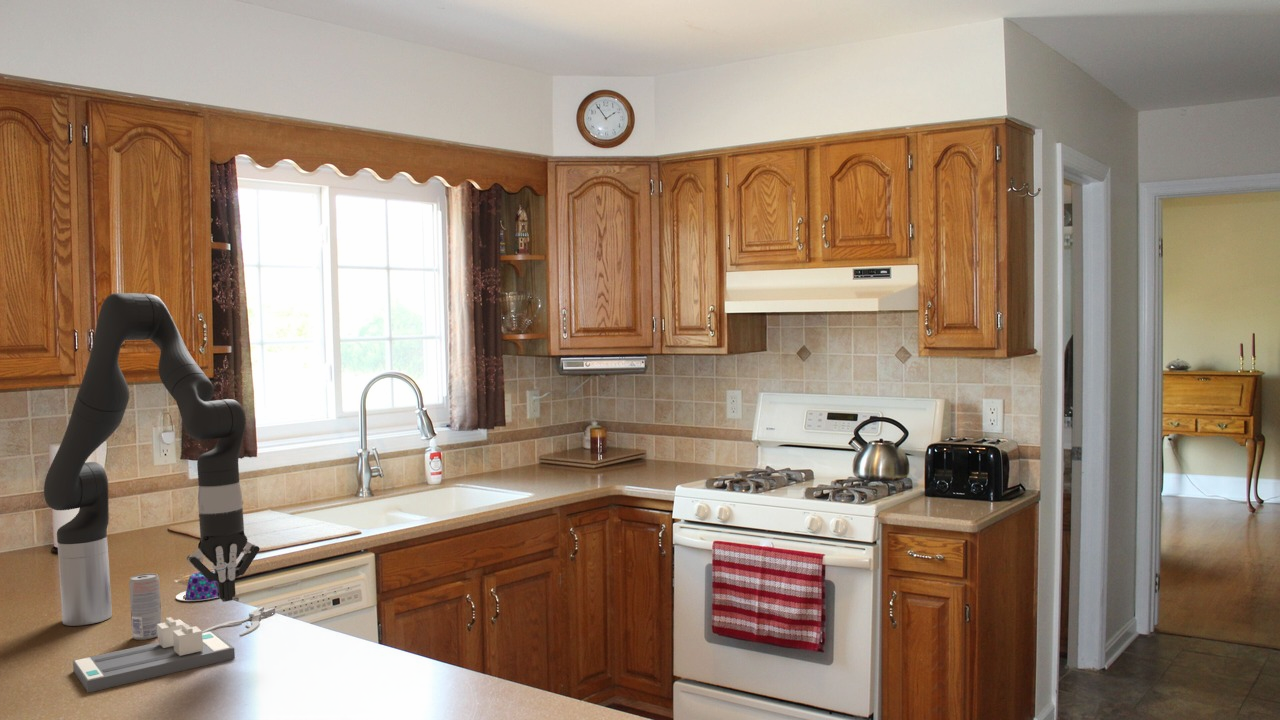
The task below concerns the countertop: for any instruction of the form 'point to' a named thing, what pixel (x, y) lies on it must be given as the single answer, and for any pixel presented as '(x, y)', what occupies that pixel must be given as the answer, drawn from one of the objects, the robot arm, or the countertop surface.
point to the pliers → (253, 616)
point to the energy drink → (145, 605)
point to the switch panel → (147, 662)
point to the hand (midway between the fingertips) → (226, 600)
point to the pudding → (199, 588)
